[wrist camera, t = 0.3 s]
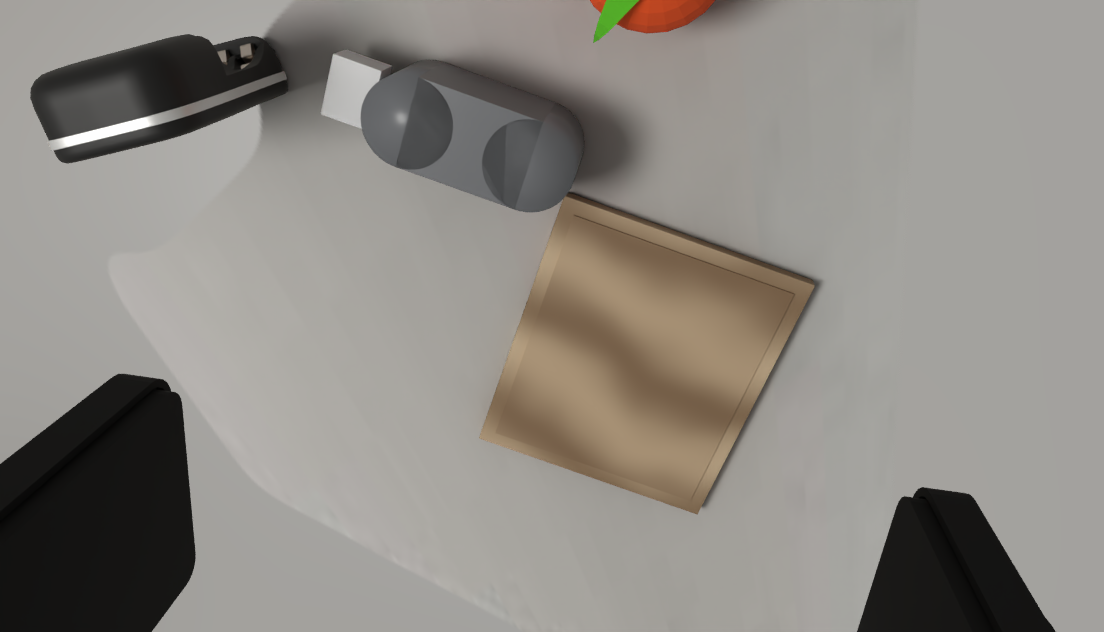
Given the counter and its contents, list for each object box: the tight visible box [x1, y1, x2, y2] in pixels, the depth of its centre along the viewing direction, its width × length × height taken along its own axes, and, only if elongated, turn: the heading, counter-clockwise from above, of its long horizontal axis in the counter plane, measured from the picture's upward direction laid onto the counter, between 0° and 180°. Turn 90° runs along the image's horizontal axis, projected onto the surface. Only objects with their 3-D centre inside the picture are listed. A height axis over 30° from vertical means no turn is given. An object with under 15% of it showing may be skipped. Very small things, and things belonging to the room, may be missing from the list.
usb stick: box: [321, 49, 584, 212], centre depth 41 cm, size 13×4×5 cm, turn 71°
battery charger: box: [30, 34, 288, 163], centre depth 39 cm, size 7×4×11 cm, turn 104°
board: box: [479, 193, 815, 514], centre depth 48 cm, size 16×14×1 cm
